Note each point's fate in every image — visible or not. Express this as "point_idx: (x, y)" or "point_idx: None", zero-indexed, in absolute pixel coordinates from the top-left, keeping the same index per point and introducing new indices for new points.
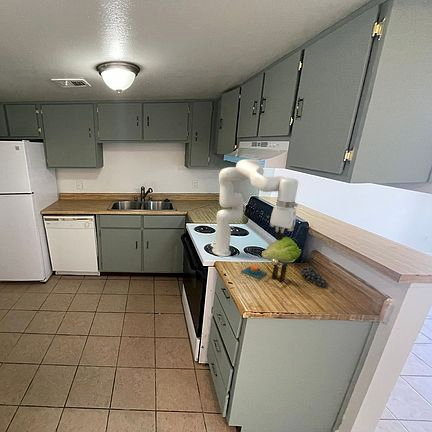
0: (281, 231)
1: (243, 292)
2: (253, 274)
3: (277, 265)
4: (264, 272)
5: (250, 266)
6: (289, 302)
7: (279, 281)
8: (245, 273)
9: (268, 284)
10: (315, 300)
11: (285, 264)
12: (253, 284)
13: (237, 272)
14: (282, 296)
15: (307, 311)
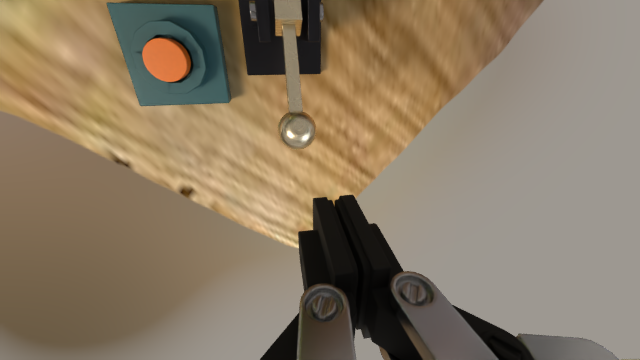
0: (392, 355)
1: (252, 201)
2: (195, 89)
3: (276, 33)
4: (207, 14)
5: (134, 47)
6: (367, 135)
7: (297, 40)
8: (165, 104)
9: (270, 82)
10: (427, 47)
11: (319, 18)
12: (237, 133)
13: (124, 99)
14: (341, 120)
15: (414, 136)
